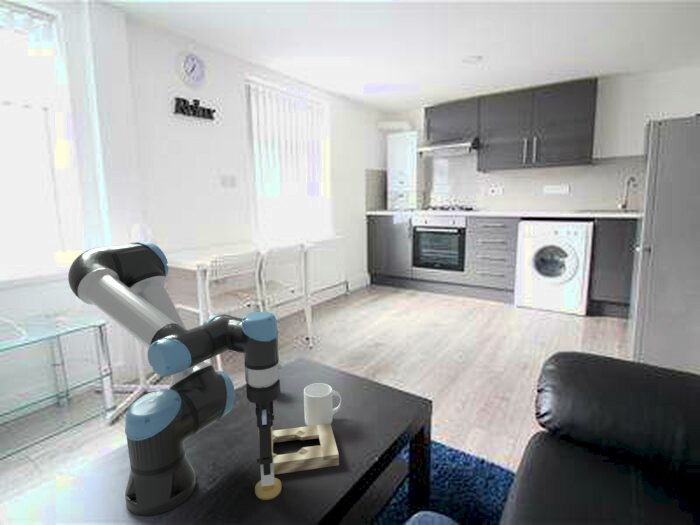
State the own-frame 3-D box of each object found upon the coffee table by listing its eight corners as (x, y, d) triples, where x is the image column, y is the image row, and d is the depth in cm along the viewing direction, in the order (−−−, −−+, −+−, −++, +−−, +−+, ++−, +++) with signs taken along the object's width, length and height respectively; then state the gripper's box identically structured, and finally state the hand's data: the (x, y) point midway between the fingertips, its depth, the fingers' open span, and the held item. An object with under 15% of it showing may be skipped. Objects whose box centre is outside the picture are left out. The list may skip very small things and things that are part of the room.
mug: (347, 422, 123) (346, 390, 121) (310, 433, 118) (309, 399, 116) (336, 409, 131) (335, 378, 129) (301, 418, 126) (300, 386, 124)
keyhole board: (266, 475, 101) (265, 464, 100) (266, 441, 114) (265, 431, 114) (338, 465, 105) (338, 454, 104) (330, 433, 118) (330, 423, 117)
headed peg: (254, 501, 93) (251, 438, 90) (255, 482, 99) (251, 422, 96) (282, 497, 94) (279, 435, 91) (281, 478, 100) (278, 419, 97)
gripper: (281, 407, 80) (286, 501, 83) (278, 356, 104) (281, 431, 108) (242, 412, 78) (249, 507, 82) (248, 359, 102) (253, 434, 106)
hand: (267, 464), depth 95 cm, fingers open, 13 cm apart
